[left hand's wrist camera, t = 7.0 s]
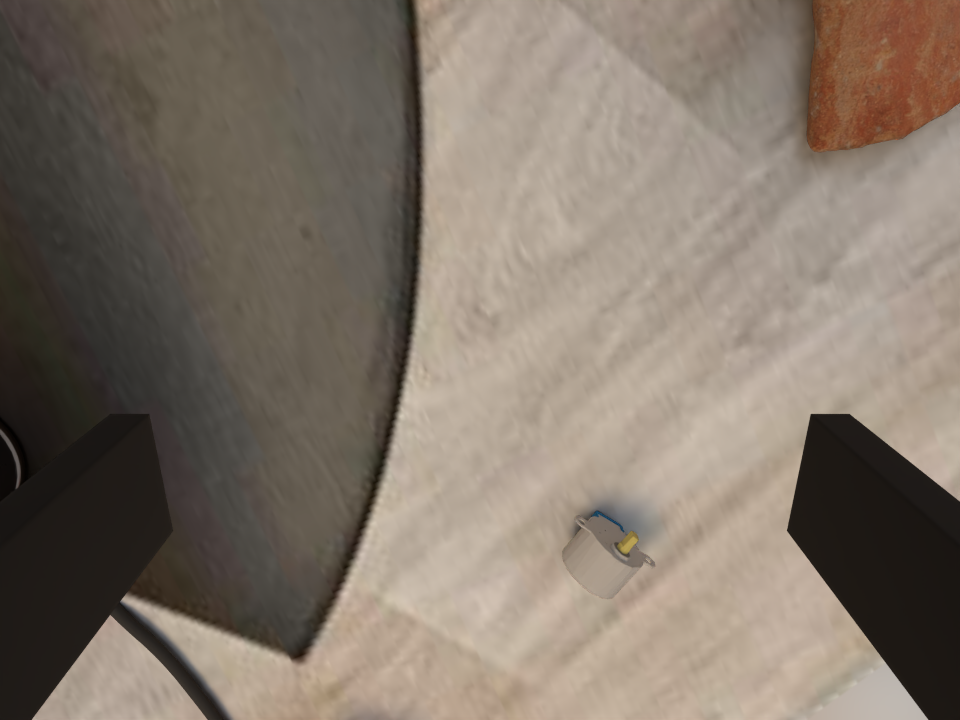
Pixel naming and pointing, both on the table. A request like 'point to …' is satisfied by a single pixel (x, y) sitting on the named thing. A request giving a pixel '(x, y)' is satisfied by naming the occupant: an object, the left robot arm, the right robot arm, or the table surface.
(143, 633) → the right robot arm
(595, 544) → the electric motor
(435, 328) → the table surface
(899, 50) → the ceramic shard
